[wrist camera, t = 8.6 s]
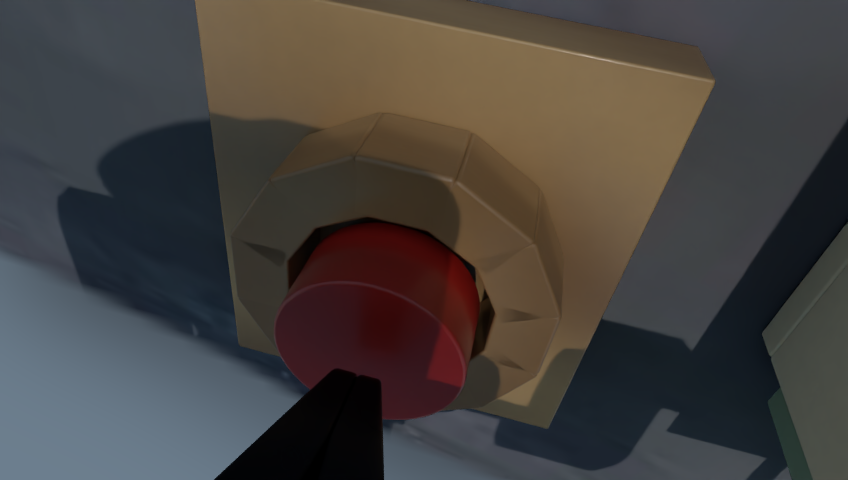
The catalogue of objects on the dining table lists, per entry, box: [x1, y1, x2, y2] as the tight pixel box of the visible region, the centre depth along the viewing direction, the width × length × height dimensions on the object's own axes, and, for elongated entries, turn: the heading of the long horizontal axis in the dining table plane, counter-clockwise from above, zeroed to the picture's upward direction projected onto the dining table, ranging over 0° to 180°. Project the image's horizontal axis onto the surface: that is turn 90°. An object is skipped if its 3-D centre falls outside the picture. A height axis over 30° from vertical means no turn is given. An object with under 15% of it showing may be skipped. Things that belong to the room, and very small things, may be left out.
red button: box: [274, 222, 480, 420], centre depth 11 cm, size 4×4×2 cm
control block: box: [195, 0, 715, 429], centre depth 12 cm, size 10×9×4 cm
